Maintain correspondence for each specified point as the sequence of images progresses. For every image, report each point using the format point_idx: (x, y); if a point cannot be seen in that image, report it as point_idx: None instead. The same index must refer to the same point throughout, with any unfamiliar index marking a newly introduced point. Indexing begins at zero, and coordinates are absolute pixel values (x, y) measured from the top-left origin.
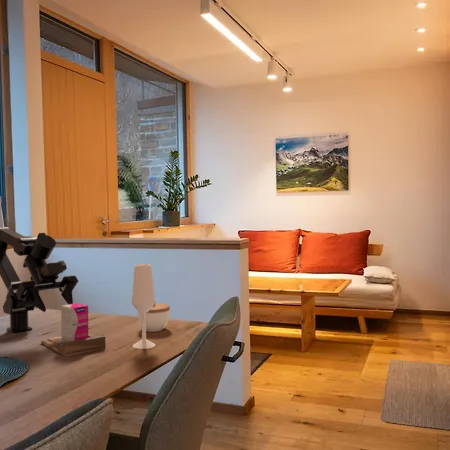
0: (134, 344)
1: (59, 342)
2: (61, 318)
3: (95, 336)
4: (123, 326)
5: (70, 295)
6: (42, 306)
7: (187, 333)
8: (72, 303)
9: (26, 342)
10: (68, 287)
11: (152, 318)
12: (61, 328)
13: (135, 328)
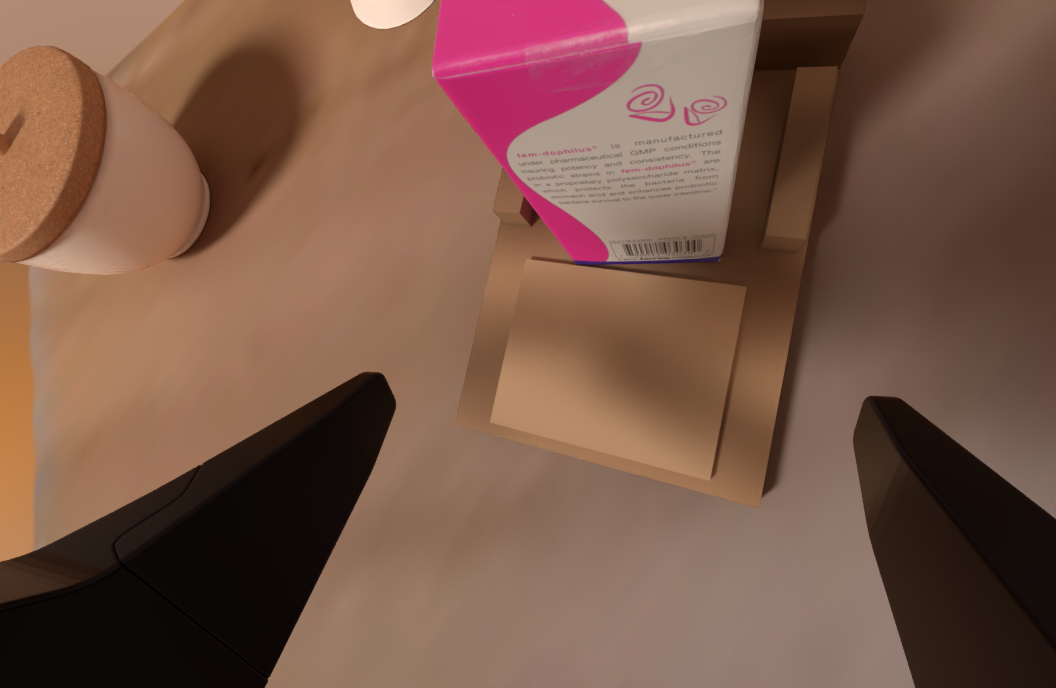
0: (418, 4)
1: (802, 160)
2: (741, 140)
3: None
4: (191, 395)
5: (227, 470)
6: (965, 458)
7: (172, 38)
8: (352, 381)
9: (825, 659)
10: (4, 602)
11: (139, 103)
12: (730, 202)
13: (196, 302)
